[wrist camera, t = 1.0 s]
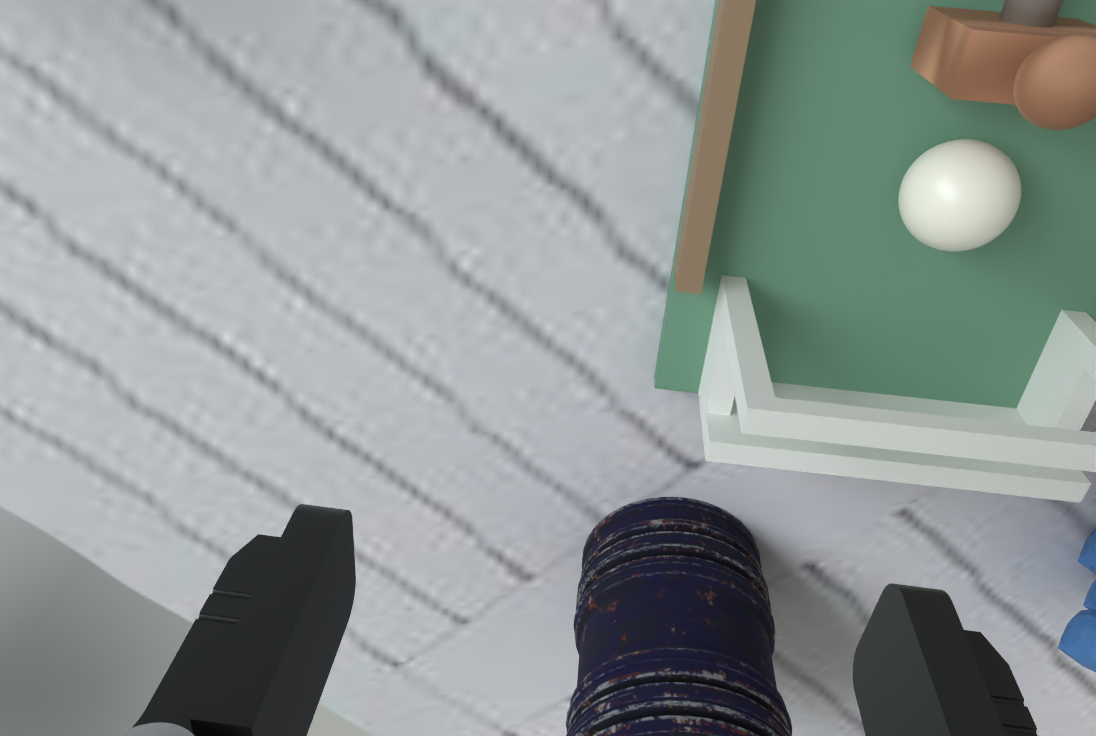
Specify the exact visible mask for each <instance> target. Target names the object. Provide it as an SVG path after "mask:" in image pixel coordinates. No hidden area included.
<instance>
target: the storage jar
mask: <svg viewBox="0 0 1096 736" xmlns="http://www.w3.org/2000/svg"><path fill="white" fill-rule="evenodd" d="M574 632H575V641H576V647H577V650H578V653H579V667H578V681H577V688H576V689H575V691H574V694H573V696H572V699H571V702H570V707H569V710H568V712H567V719H566V727H567V735H566V736H792V725H791V719H790V717H789V714H788V712H787V710H786V706H785V703H784V701H783V699H782V696H781V695H780V693H779V692H778V691H777V687H776V681H775V675H774V669H773V663H772V654H773V651H774V643H775V638H774V636H775V627H774V621H773V617H772V615H771V607H770V600H769V595H768V589H767V585H766V582H765V580H764V577H763V574H762V571H761V562H760V556H759V550H758V547H757V545H756V542H755V540H754V538H753V536H752V535H751V533H750V532H749V530H748V529H747V528H746V527H745V526H744V525H743V524H742V523H741V522H740V521H739V520H738V519H736V518H735V517H734V516H732V515H731V514H730V513H728V512H726V511H724V510H722V509H721V508H719V507H716V506H714V505H711V504H709V503H706V502H702V501H698V500H694V499H688V498H680V497H660V498H652V499H646V500H642V501H638V502H634V503H631V504H629V505H626V506H624V507H621V508H619V509H618V510H616V511H614V512H612V513H611V514H609V515H608V516H607V517H605V518H604V519H603V520H602V521H600V522H599V524H598V525H597V526H596V527H595V528H594V529H593V530H592V532H591V534H590V535H589V537H588V539H587V541H586V544H585V547H584V551H583V558H582V575H581V579H580V582H579V585H578V593H577V604H576V614H575V619H574Z"/></svg>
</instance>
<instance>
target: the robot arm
mask: <svg viewBox="0 0 1096 736" xmlns="http://www.w3.org/2000/svg"><path fill="white" fill-rule="evenodd" d="M355 584H356V575H355V558H354V540H353V523H352V515H351V512H350V511H349V510H343V509H335V508H327V507H320V506H312V505H305V504H300V505H299V506H298V507H297V508H296V509H295V511H294V513H293V514H292V516H291V518H290V520H289V522H288V524H287V526H286V528H285V530H284V532H283V534H282V536H281V537H274V536H266V535H259V534H258V535H257V536H256V537H255V538H253V539H252V540H251V541H250V542H249V543H248V544H246V545H245V546H244V547H243V548H242V549H241V550H239V551H238V552H237V553H236V554H235V555H233V556H232V557H231V558H230V559H229V561H228V563H227V565H226V566H225V568H224V570H223V572H222V574H221V575H220V577H219V579H218V581H217V583H216V584H215V586H214V588H213V593H212V594H210V595H209V597H208V599H207V600H206V602H205V604H204V606H203V608H202V609H201V611H200V615H199V618H198V619H196V620H195V622H194V624H193V625H192V627H191V629H190V631H189V633H188V635H187V636H186V638H185V640H184V642H183V643H182V645H181V647H180V649H179V651H178V652H177V654H176V656H175V658H174V660H173V662H172V663H171V665H170V667H169V669H168V671H167V672H166V674H165V676H164V678H163V679H162V681H161V683H160V685H159V686H158V688H157V690H156V692H155V694H154V695H153V697H152V699H151V701H150V702H149V705H148V706H147V708H146V710H145V711H144V713H143V714H142V716H141V717H140V719H139V720H138V721H137V722H136V724H135V725H134V726H133V727H132V728H130V729H128V730H126V731H124V732H122V733H119V734H118V735H116V736H306V735H307V733H308V730H309V727H310V724H311V722H312V719H313V716H314V714H315V711H316V708H317V705H318V703H319V700H320V697H321V695H322V692H323V689H324V686H325V684H326V681H327V678H328V675H329V673H330V670H331V667H332V664H333V662H334V659H335V656H336V653H337V651H338V648H339V645H340V642H341V640H342V637H343V634H344V632H345V629H346V626H347V623H348V620H349V617H350V614H351V610H352V605H353V600H354V594H355ZM853 683H854V690H855V694H856V698H857V702H858V706H859V710H860V714H861V718H862V722H863V726H864V730H865V734H866V736H1037V734H1036V730H1037V728H1036V725H1035V723H1034V721H1033V719H1032V716H1031V714H1030V712H1029V710H1028V707H1025V706H1024V703H1023V702H1024V698H1023V696H1022V694H1021V692H1020V689H1019V687H1018V685H1017V683H1016V680H1015V678H1014V676H1013V674H1012V671H1011V669H1010V667H1009V665H1008V663H1007V662H1006V661H1005V660H1004V659H1003V658H1002V657H1001V655H1000V654H999V653H998V652H997V651H996V650H995V648H994V647H993V646H992V645H991V644H990V643H989V641H988V640H987V639H986V638H985V637H984V636H983V635H982V633H981V632H975V631H967V630H963V627H962V625H961V622H960V620H959V617H958V615H957V612H956V610H955V608H954V605H953V603H952V601H951V598H950V597H949V595H948V594H947V593H946V592H945V591H943V590H937V589H929V588H922V587H914V586H907V585H899V584H889V585H887V586H886V587H885V588H884V590H883V592H882V594H881V596H880V598H879V601H878V603H877V605H876V607H875V609H874V611H873V613H872V616H871V618H870V620H869V622H868V624H867V626H866V629H865V631H864V633H863V635H862V637H861V639H860V641H859V644H858V646H857V648H856V652H855V656H854V663H853Z"/></svg>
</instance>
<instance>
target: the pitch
mask: <svg viewBox="0 0 1096 736" xmlns="http://www.w3.org/2000/svg"><path fill="white" fill-rule="evenodd" d="M1004 2H1005V0H716V2H715V9H714V15H713V21H712V27H711V33H710V39H709V45H708V51H707V58H706V64H705V70H704V76H703V82H702V88H701V94H700V100H699V107H698V113H697V119H696V125H695V131H694V137H693V143H692V149H691V156H690V162H689V168H688V174H687V180H686V186H685V192H684V198H683V205H682V211H681V217H680V223H679V229H678V235H677V241H676V247H675V254H674V260H673V266H672V272H671V278H670V284H669V290H668V296H667V303H666V309H665V315H664V321H663V327H662V333H661V339H660V345H659V352H658V358H657V364H656V370H655V376H654V380H655V388H657V389H666V390H676V391H685V392H694V393H698V396H699V405H700V414H701V423H702V433H703V442H704V451H705V461H711V462H720V463H729V464H738V465H747V466H756V467H765V468H774V469H783V470H791V471H800V472H809V473H818V474H827V475H836V476H845V477H854V478H863V479H872V480H881V481H890V482H899V483H908V484H917V485H926V486H935V487H944V488H952V489H961V490H970V491H979V492H988V493H997V494H1006V495H1015V496H1024V497H1033V498H1042V499H1051V500H1060V501H1069V502H1078V503H1081V501H1082V500H1083V498H1084V496H1085V494H1086V492H1087V491H1088V489H1089V487H1090V485H1091V483H1090V481H1089V480H1088V478H1087V477H1086V476H1085V474H1084V473H1083V471H1090V472H1096V432H1089V431H1080V430H1081V428H1082V426H1083V424H1084V422H1085V420H1086V418H1087V416H1088V415H1089V413H1090V411H1091V409H1092V407H1093V405H1094V403H1095V401H1096V117H1095V118H1094V119H1092V120H1091V121H1089V122H1087V123H1085V124H1083V125H1080V126H1078V127H1075V128H1071V129H1065V130H1050V129H1044V128H1041V127H1038V126H1036V125H1034V124H1032V123H1030V122H1029V121H1028V120H1026V119H1025V118H1024V117H1023V116H1022V115H1021V113H1020V112H1019V110H1018V108H1017V106H1016V105H1013V104H1002V103H991V102H981V101H970V100H959V99H950V98H949V97H948V96H947V95H945V94H944V93H943V92H942V91H940V90H939V89H938V88H937V87H935V86H934V85H933V84H932V83H930V82H929V81H928V80H927V79H925V78H924V77H923V76H922V75H920V74H919V73H918V72H917V71H915V70H914V69H913V68H912V67H910V66H911V62H912V59H913V56H914V52H915V49H916V45H917V42H918V38H919V35H920V32H921V28H922V25H923V21H924V18H925V15H926V11H927V8H928V6H938V7H949V8H961V9H972V10H984V11H995V12H1001V11H1002V8H1003V5H1004ZM1057 17H1064V18H1076V19H1080V20H1083V21H1085V22H1088V23H1090V24H1093V25H1096V0H1063V2H1062V5H1061V8H1060V10H1059V13H1058V16H1057ZM959 139H973V140H979V141H983V142H986V143H989V144H991V145H993V146H995V147H997V148H998V149H1000V150H1001V151H1003V152H1004V153H1005V154H1006V155H1007V156H1008V157H1009V158H1010V159H1011V161H1012V162H1013V163H1014V165H1015V167H1016V169H1017V171H1018V173H1019V177H1020V181H1021V200H1020V204H1019V207H1018V210H1017V212H1016V214H1015V217H1014V218H1013V220H1012V221H1011V223H1010V224H1009V226H1008V227H1007V228H1006V229H1005V230H1004V231H1003V232H1002V233H1001V234H1000V235H999V236H997V237H996V238H995V239H993V240H992V241H990V242H988V243H987V244H985V245H983V246H980V247H978V248H974V249H971V250H966V251H957V252H951V251H943V250H938V249H935V248H932V247H929V246H927V245H925V244H923V243H922V242H920V241H919V240H917V239H916V238H915V237H914V236H913V235H912V234H911V233H910V232H909V230H908V229H907V228H906V226H905V224H904V222H903V220H902V218H901V215H900V211H899V204H898V196H899V190H900V186H901V182H902V180H903V177H904V175H905V174H906V172H907V170H908V169H909V167H910V166H911V165H912V164H913V162H914V161H915V160H916V159H917V158H918V157H919V156H921V155H922V154H923V153H924V152H926V151H927V150H929V149H931V148H932V147H934V146H936V145H939V144H941V143H944V142H947V141H952V140H959Z"/></svg>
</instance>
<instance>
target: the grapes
mask: <svg viewBox="0 0 1096 736" xmlns="http://www.w3.org/2000/svg"><path fill="white" fill-rule="evenodd" d="M1078 562H1080V563H1081V564H1083V565H1084V566H1085V567H1087V568H1088V569H1089V570H1091V571H1093V572H1094V573H1096V531H1095V532H1094V533H1093V534H1092V535H1091V536H1090V537H1089V538H1088V539H1087V540H1086V542H1085V544H1084V547H1083V549H1082V551H1081V554H1080V557H1079V559H1078ZM1083 606H1085V607H1086V608H1088V609H1089V610H1081V611H1080V612H1079V613H1078V614H1076V615H1075V616H1074V617H1073V618H1072V619H1071V620H1070V622H1069V623H1068V624H1067V626H1066V628H1065V630H1064V633H1063V635H1062V637H1061V640H1060V643H1059V646H1058V648H1059V649H1060V650H1061V651H1063V652H1064V653H1065V654H1067V655H1068V656H1070V657H1071V658H1072V659H1074V660H1075V661H1076V662H1078V663H1079V664H1081V665H1082V666H1084V667H1086V668H1088V669H1090V670H1092V671H1094V672H1096V580H1095V581H1094V582H1093V584H1092V585H1091V587H1090V589H1089V592H1088V594H1087V596H1086V599H1085V602H1084V605H1083Z"/></svg>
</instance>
